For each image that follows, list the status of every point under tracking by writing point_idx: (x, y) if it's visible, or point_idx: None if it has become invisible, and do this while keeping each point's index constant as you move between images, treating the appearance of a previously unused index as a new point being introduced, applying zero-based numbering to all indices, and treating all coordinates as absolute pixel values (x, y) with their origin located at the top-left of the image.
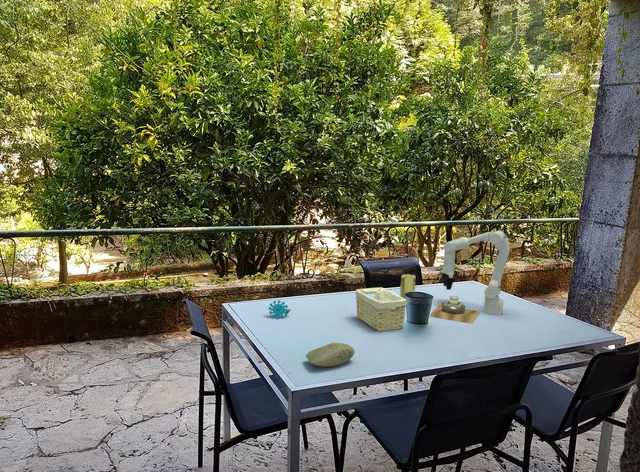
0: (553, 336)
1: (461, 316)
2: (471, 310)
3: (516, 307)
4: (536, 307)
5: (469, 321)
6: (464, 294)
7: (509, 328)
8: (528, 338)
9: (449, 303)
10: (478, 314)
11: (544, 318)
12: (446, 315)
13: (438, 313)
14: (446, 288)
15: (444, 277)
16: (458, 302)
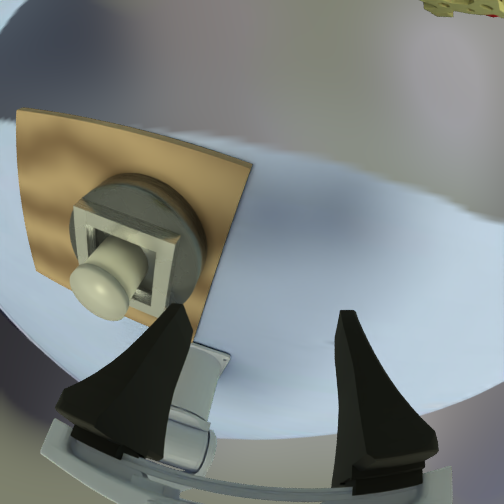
0: None
1: None
2: (190, 319)
3: (305, 416)
4: (310, 433)
5: (47, 268)
6: (481, 335)
7: (86, 344)
8: (55, 344)
9: (106, 241)
10: (143, 323)
11: (215, 421)
12: (56, 193)
13: (63, 154)
14: (173, 309)
15: (91, 411)
16: (152, 297)
